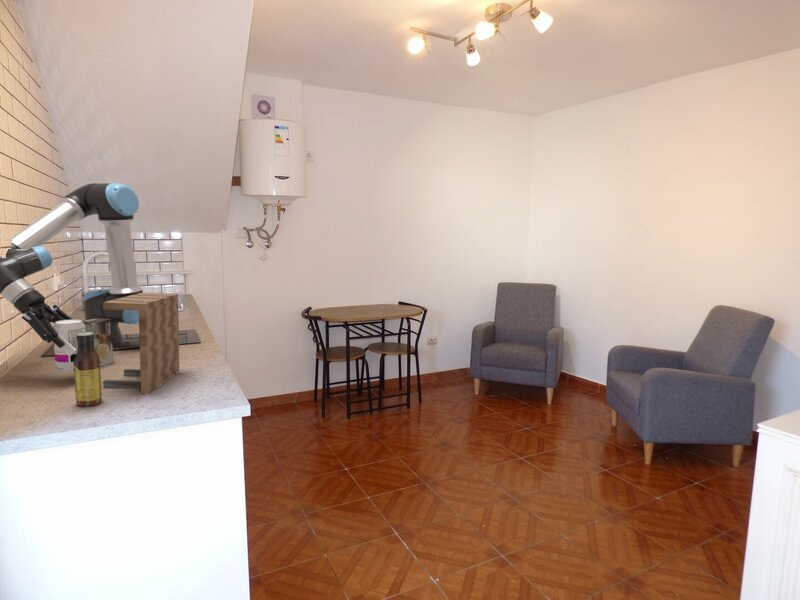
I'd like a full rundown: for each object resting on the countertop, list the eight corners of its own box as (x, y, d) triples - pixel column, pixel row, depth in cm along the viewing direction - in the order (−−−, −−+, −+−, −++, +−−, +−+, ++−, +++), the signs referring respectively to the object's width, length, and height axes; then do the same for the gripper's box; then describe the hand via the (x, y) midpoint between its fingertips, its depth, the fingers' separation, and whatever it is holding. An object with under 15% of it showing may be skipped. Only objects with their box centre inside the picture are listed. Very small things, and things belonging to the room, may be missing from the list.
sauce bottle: (83, 399, 141) (80, 330, 139) (106, 399, 142) (103, 331, 139) (70, 407, 135) (66, 335, 132) (94, 407, 135) (91, 335, 133)
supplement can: (54, 373, 151) (50, 324, 149) (57, 366, 158) (54, 319, 156) (85, 370, 155) (83, 323, 153) (88, 364, 162) (85, 318, 160)
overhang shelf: (133, 370, 171) (130, 292, 167) (179, 371, 172) (178, 293, 168) (94, 392, 147) (90, 302, 143) (148, 394, 148) (145, 303, 144)
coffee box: (98, 361, 181) (97, 317, 179) (114, 362, 180) (112, 318, 178) (77, 367, 172) (75, 321, 170) (93, 369, 171) (91, 322, 169)
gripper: (39, 300, 163) (92, 349, 166) (-11, 311, 143) (51, 367, 146) (54, 284, 163) (107, 334, 166) (7, 293, 142) (69, 349, 145)
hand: (81, 349), depth 156 cm, fingers closed on supplement can, 8 cm apart
